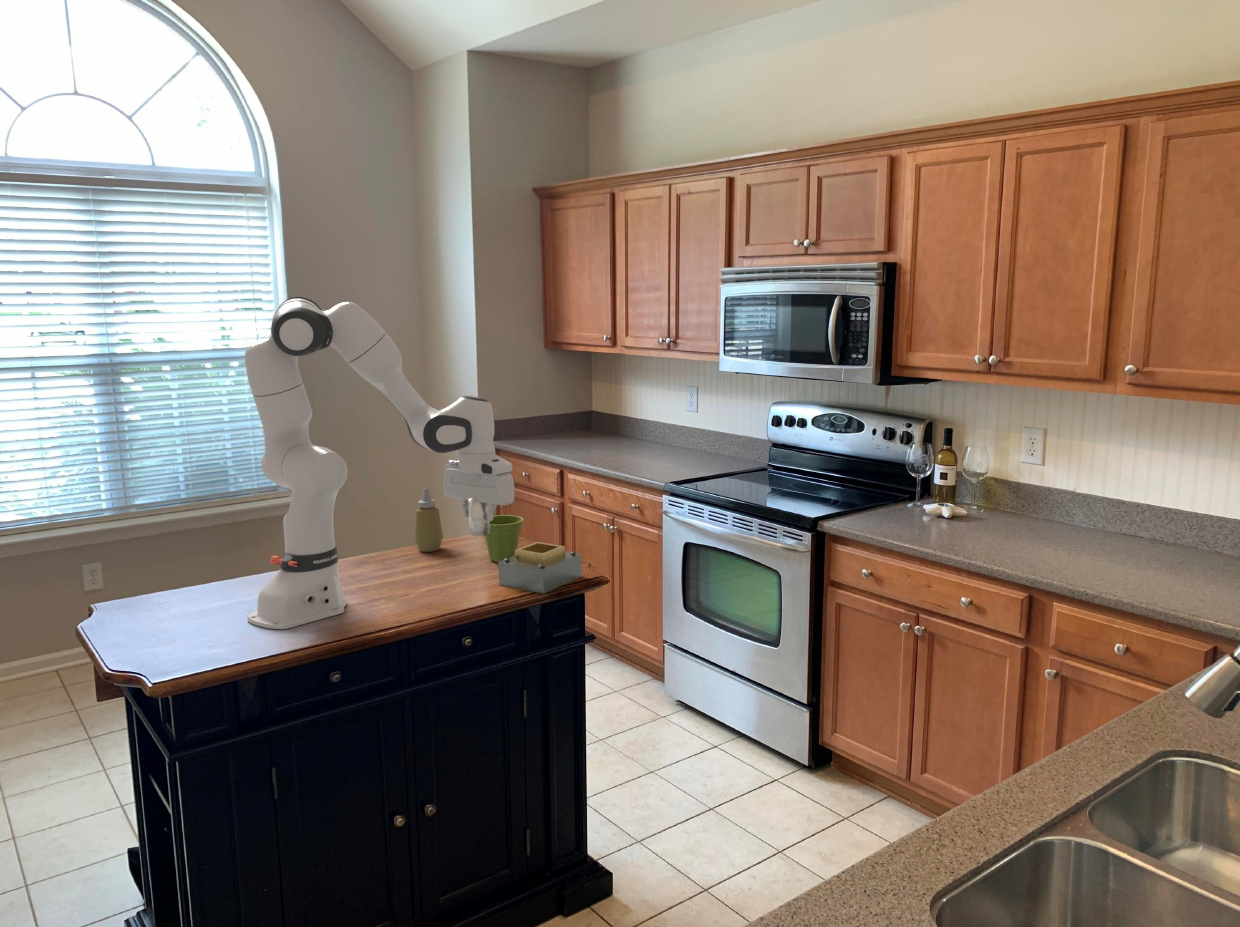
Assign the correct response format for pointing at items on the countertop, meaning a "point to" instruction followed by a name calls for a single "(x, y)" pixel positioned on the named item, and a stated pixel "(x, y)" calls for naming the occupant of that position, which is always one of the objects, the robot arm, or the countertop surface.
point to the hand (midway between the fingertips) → (478, 519)
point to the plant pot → (503, 537)
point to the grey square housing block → (540, 567)
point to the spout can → (477, 518)
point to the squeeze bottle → (427, 524)
